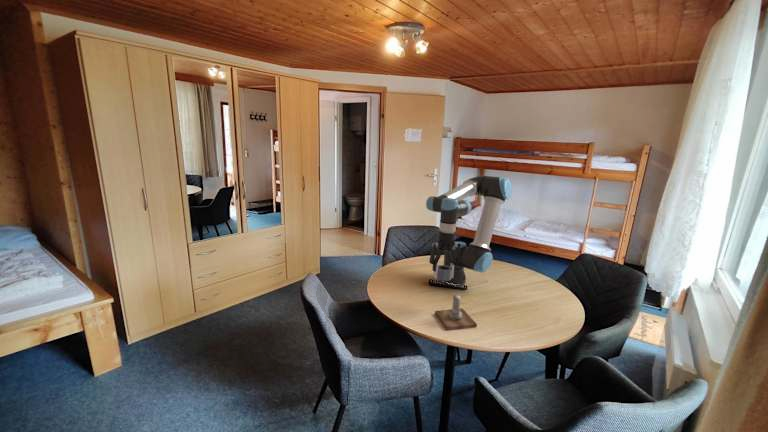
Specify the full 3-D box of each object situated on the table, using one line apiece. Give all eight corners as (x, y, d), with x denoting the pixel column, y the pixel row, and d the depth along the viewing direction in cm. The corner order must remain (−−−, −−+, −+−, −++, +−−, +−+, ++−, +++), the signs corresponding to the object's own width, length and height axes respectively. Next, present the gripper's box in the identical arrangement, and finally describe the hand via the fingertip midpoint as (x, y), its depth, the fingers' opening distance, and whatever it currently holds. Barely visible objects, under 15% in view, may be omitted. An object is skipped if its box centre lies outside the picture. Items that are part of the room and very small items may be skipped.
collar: (447, 274, 162) (448, 264, 161) (453, 280, 155) (454, 270, 154) (433, 275, 161) (434, 265, 160) (438, 281, 154) (439, 271, 152)
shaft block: (462, 311, 158) (464, 289, 155) (476, 327, 144) (479, 303, 142) (434, 313, 154) (436, 291, 152) (447, 330, 141) (449, 305, 139)
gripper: (464, 229, 159) (459, 273, 163) (424, 229, 155) (420, 274, 159) (471, 233, 151) (466, 279, 156) (429, 233, 147) (425, 281, 152)
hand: (443, 277), depth 158 cm, fingers closed on collar, 7 cm apart
